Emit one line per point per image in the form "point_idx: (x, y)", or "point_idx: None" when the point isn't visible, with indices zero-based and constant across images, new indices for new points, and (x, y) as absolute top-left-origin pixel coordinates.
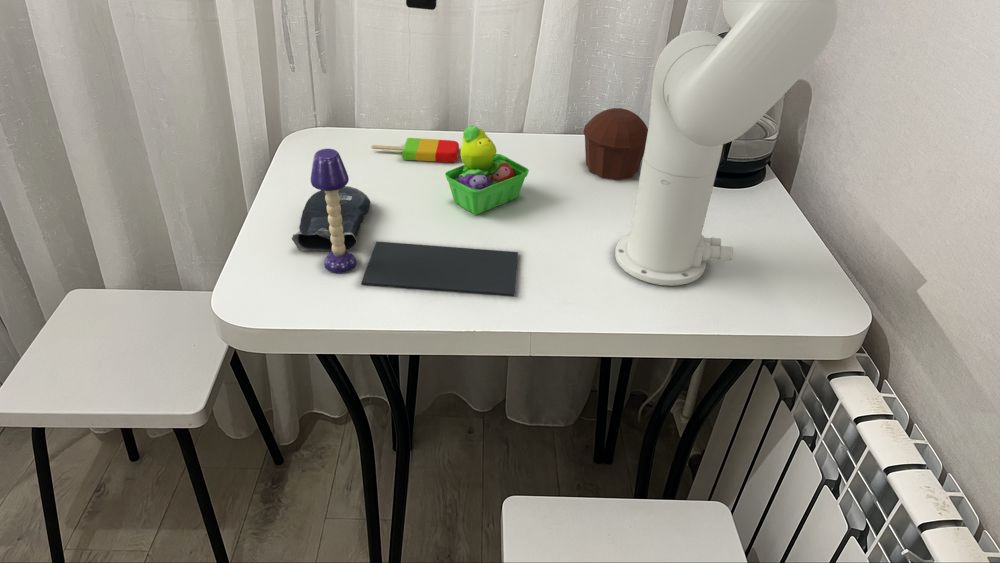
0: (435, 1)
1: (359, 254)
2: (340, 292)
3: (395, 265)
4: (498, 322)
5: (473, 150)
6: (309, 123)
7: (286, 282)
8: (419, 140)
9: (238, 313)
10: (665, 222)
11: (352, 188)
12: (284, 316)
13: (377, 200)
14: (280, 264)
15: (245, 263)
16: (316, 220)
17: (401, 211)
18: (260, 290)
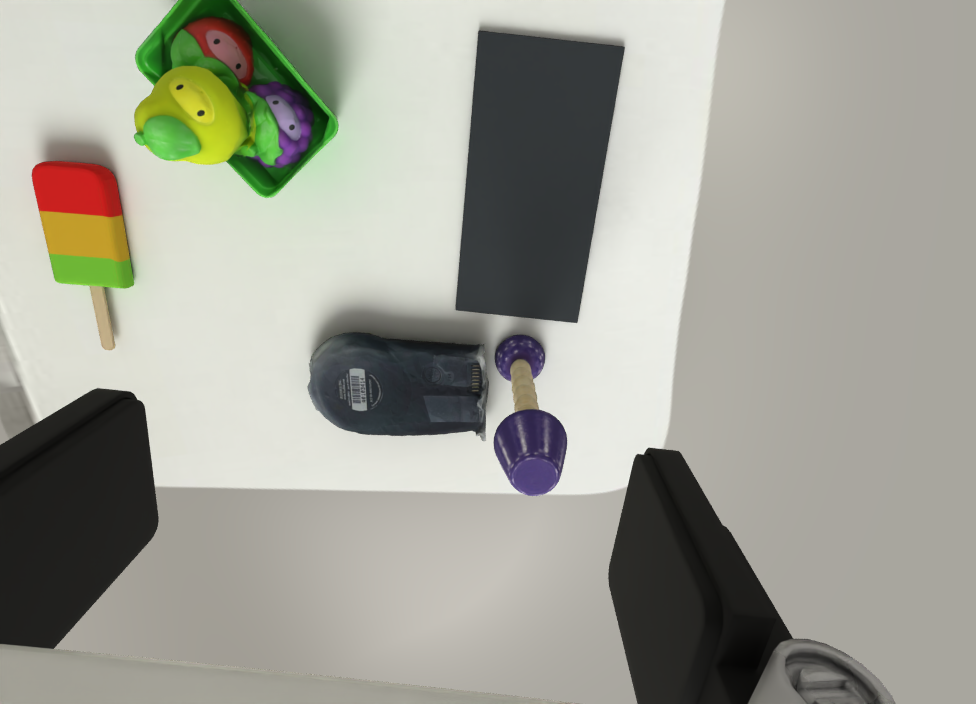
0: (688, 471)
1: (489, 332)
2: (594, 349)
3: (529, 273)
4: (697, 84)
5: (227, 131)
6: None
7: (566, 424)
8: (61, 255)
9: None
10: None
11: (320, 370)
12: (647, 414)
13: (308, 318)
14: None
15: None
16: (438, 414)
17: (341, 273)
18: (584, 452)
